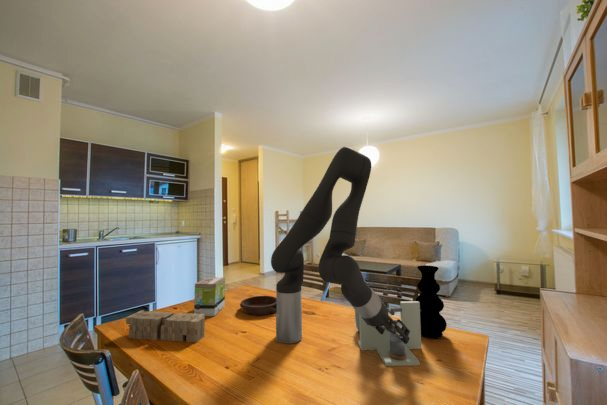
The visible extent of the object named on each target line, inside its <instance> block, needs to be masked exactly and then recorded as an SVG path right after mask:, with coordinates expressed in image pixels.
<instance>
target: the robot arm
mask: <svg viewBox="0 0 607 405" xmlns="http://www.w3.org/2000/svg"><path fill="white" fill-rule="evenodd" d="M371 171H372V161H371V159H370V158H369V156H366V154H363V153H360V152H359V151H357V150H355V149H354V148H351V147H349V146H343V147H341V148H340V149H339V150H338V151H337V152H336V154H335V155H334V157H333V158H332V160H331V162H330V163H329V165H328V167H327V169H326V171H325V173H324V175H323V177H322V179H321V180H320V182H319V184H318V186H317V187H316V189H315V191H314V192H313V194H312V195H311V197H310V198H309V200H308V201H307V203H306V204H305V205H304V208H303V209H302V211H301V212H300V213H299V216H298V217H297V219H296V220H295V222H294V223H293V225H292V226H291V228H290V229H289V231H288V232H287V234H286V235H285V236H284V238H283V239H282V241H281V242H280V243H279V244H278V245H277V246H276V248H275V249H274V251H273V252H272V254H271V258H270V265H271V269H272V270H273V271H275V272H276V273H279V274H284V275H283V276H282V278H281V279H279V281H277V282H276V289H275V291H276V293H275V294H276V295H275V296H276V297H275V298H276V302H277V313H275V332H276V333H275V341H276V342H278V343H281V344H295V343H298V342H300V341H301V340H302V339H303V317H302V315H303V310H302V308H303V307H302V285H303V282H304V272H305V268H304V266H305V262H304V261H305V260H304V257H305V256H304V254H303V251H302V249H301V248H302V247H303V246H305V245H307V243H309V242H311V241H312V240H313V239H314V238H315V237H317V236H318V235H319V234H320V233H321V232H322V231H323V230H324V228H325V227H326V225H327V224H328V223H329V221H330V220H331V217H332V220H331V225H330V226H331V227H330V232H329V237H328V241H327V243H326V244H325V247H324V249H323V251H322V254H321V256H320V259H319V262H318V274H319V277H320V278H321V280H322V281H323V282H324V283H325V282H326V283H330V284H341V286H340V290H341V293H342V295H343V297H344V298H345V299H346V300H347V301H348V302H349V304H350V305H351V306H352V307H353V309H354V312H355V311H356V312H357V313H358V314H359V315H360V316H361V318H362V319H363V320H364V321H365V322H366V324H367V325H370V326H372V327H373V328H375V329H376V330H377V331H378V332H379V333H380V334H383V333H384V331H385V330H387V331H388V332H390V333H391V334H395V335H397V336H398V337H399V338H400V339H401V340H402V341H403V343H405V344H407V343H408V341H409V339H410V338H409V337H408V335H409V333H410V330H409V329H408V328H407V327H406V326H405V325H404V324H403V322H402V321H401V319H399V318H398V319H393V318H392V317H391V315H389V312H388V309H387V308H388V307H387V305H386V304H385V303H384V302H383V301H382V299H381V298H380V297H379V296H378V294H377V293H376V292H375V290H373V289H372V288H371V287H370V286H369V285H368V283H367V282H366V281H365V279H364V276H363V273H362V271H361V268H360V266H359V263H358V262H357V260H356V259H354V258H353V257H352V256H349V255H346V254H344V255H343V253H344V252H345V251H347V250H349V249H352V248H353V247H355V243H356V237H357V229H358V221H359V216H360V215H359V214H360V211H361V207H362V204H363V202H364V197H365V194H366V190H367V186H368V184H369V180H370V177H371V176H370V175H371ZM339 179H342V180H345V181H347V182H348V183H350V186H351V187H350V192H349V194H348V196H347V197H346V199H345V200H344V201H343V202H342V203H341V204H340V205H339V207H337V208H336V210H335V211H334V213H333V190H334V188H335V186H336V184H337V182H338V181H339ZM332 213H333V214H332ZM395 320H397V322H396V321H395ZM392 325H393V326H394V327H393V329H392V330H390V328H391V326H392ZM396 331H398V332H399V333H397V332H396Z"/></svg>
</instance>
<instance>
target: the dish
mask: <svg viewBox="0 0 607 405" xmlns="http://www.w3.org/2000/svg"><path fill="white" fill-rule="evenodd" d="M239 307H240V308H242V309H243V312H245V313H246V314H248V315H252V316H253V315H254V316H265V315H269V314H271V313H275V314H276V313H277V302H276V297H275V296H273V295H272V296H271V295H255V296H251V297H248V298H245V299H243V300H241V301H240V302H239Z"/></svg>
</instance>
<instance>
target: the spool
mask: <svg viewBox="0 0 607 405" xmlns="http://www.w3.org/2000/svg"><path fill="white" fill-rule="evenodd" d="M394 320H395V321H396V322H397V319H394ZM402 322H403V321H402ZM403 324H404V325H405V323H404V322H403ZM393 327H394V326H393V325H392V326H391V328H390V330H392V329H393ZM396 332H397V333H399V332H398V331H396ZM389 334H390V351H389V356H390V357H391V358H392V359H394V360H405V359H406V353H405V343H403V341H402V340H401V339H400V338H399V337H398V336H397V335H395V334H391V333H390V332H389Z"/></svg>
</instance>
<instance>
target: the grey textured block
mask: <svg viewBox="0 0 607 405" xmlns="http://www.w3.org/2000/svg"><path fill="white" fill-rule="evenodd" d="M174 313H175V312H173V311H172V312H170V311H169V312H165V311H145V310H143V309H142V310H139V311H137V312H135V313H133V314H130V315H128V316H126V317H125V324H126V325H128V326H129V327H128V329H129V330H128V339H139V340H153V341H156V340H158V339H159V340H160V341H173V342H183V341H186V343H198V342H200V341H201V340H202V339H203V338H205V326H206V325H205V323H206V322H205V320H206V318H205V317H206V316H205V314H194V312H193V313H192V312H191V313H186V312H185V313H184V312H177V313H175V314H174Z"/></svg>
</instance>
